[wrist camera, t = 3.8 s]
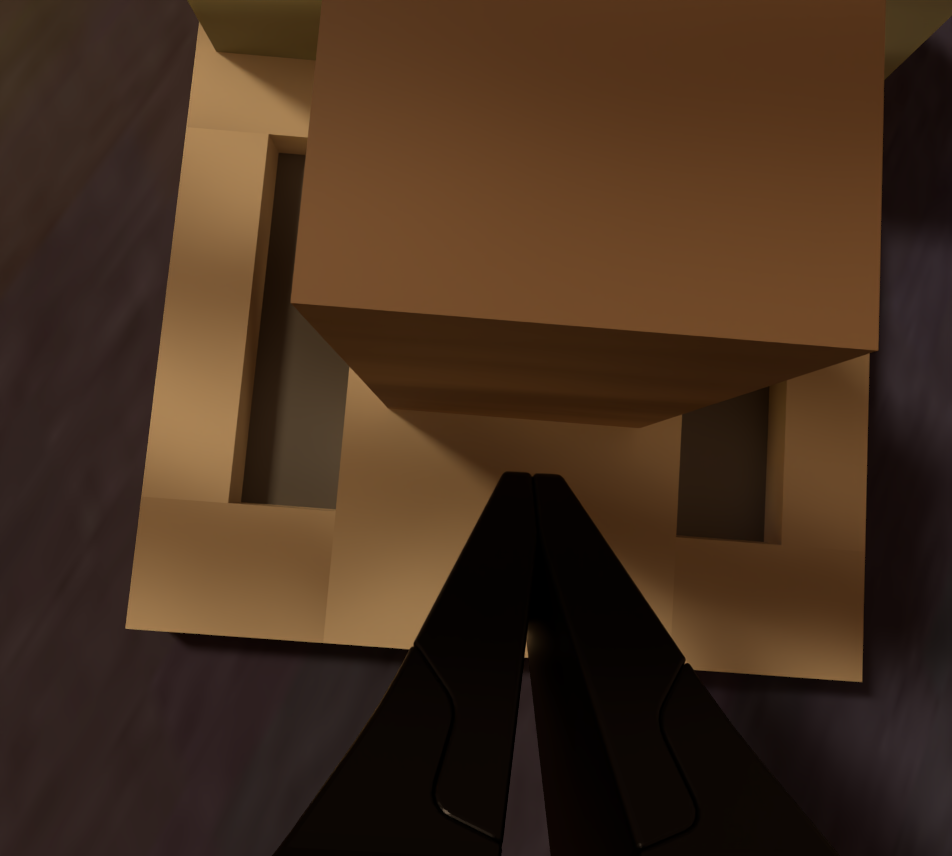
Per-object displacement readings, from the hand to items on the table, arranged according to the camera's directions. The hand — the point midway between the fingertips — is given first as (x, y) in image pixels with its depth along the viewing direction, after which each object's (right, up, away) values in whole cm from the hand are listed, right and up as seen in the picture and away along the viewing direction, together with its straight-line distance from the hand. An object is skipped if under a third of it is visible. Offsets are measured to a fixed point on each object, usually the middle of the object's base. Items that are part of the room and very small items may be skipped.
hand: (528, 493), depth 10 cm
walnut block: (0, +4, +6) cm, 7 cm away
